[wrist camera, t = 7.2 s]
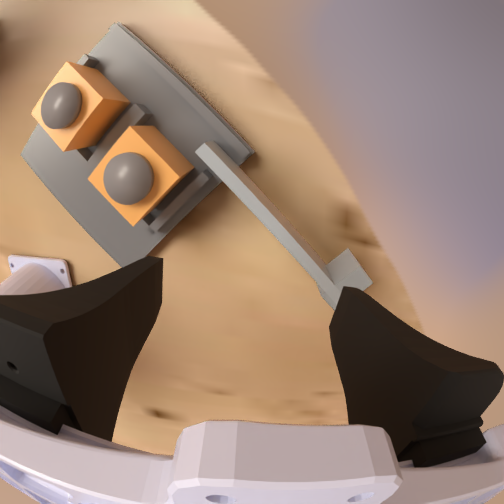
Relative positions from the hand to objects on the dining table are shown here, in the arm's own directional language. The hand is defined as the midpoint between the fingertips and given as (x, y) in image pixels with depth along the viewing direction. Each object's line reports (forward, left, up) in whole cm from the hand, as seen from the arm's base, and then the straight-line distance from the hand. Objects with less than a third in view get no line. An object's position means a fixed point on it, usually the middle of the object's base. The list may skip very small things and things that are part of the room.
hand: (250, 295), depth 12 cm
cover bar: (+1, -2, -9) cm, 9 cm away
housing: (+5, +10, -10) cm, 15 cm away
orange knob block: (+8, +11, -9) cm, 17 cm away
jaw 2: (+4, +7, -9) cm, 12 cm away
